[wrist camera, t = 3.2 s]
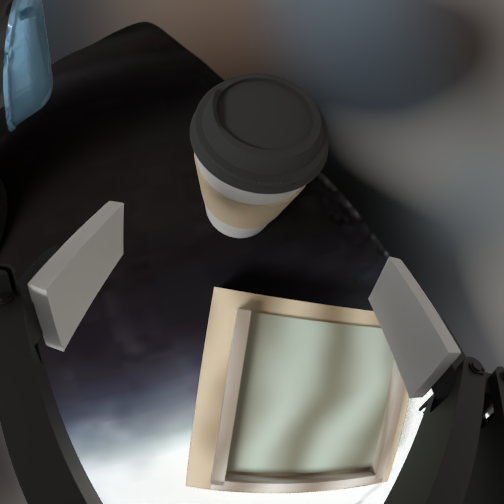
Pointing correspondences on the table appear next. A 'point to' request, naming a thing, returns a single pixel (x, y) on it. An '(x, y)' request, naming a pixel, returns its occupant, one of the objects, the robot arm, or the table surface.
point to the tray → (293, 398)
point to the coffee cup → (255, 150)
